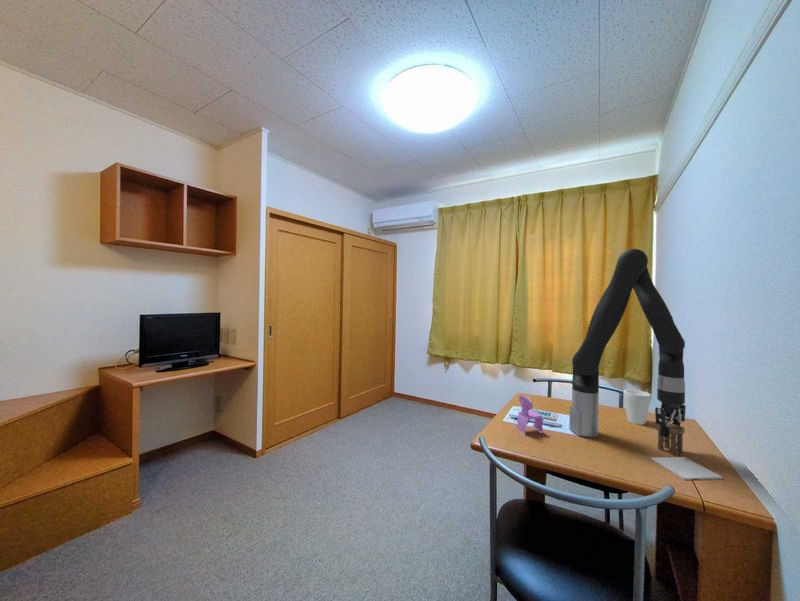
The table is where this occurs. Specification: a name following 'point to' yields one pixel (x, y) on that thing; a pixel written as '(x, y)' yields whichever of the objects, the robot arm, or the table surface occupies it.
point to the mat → (686, 468)
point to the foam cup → (637, 405)
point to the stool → (673, 431)
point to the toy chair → (528, 415)
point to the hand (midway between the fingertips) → (670, 435)
